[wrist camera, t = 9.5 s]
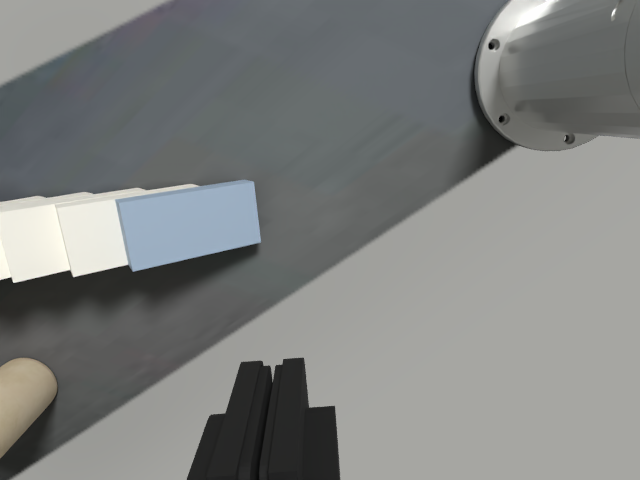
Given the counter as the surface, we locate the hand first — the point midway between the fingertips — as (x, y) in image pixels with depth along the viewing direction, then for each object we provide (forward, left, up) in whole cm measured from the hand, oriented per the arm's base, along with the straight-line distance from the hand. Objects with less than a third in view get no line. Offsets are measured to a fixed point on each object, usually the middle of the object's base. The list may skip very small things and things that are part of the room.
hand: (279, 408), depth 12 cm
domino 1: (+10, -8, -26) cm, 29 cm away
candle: (+30, -6, -27) cm, 41 cm away
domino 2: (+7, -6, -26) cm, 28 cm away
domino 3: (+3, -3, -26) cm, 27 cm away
